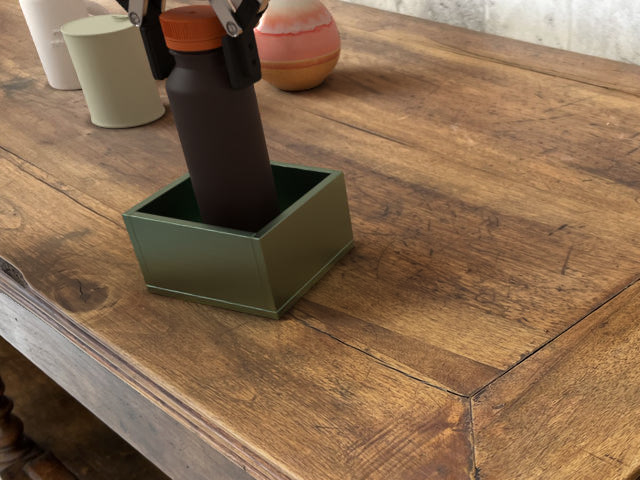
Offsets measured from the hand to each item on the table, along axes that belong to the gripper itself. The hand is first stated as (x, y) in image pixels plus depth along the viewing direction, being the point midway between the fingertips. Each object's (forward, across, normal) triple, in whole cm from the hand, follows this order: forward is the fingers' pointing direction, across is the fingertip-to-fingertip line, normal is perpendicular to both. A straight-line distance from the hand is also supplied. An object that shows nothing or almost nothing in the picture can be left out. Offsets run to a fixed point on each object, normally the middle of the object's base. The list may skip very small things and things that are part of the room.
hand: (208, 78), depth 64 cm
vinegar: (+15, 0, 0) cm, 15 cm away
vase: (+18, -24, +46) cm, 55 cm away
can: (+18, -39, +28) cm, 51 cm away
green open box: (+18, 0, 0) cm, 18 cm away
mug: (+18, -55, +40) cm, 70 cm away
